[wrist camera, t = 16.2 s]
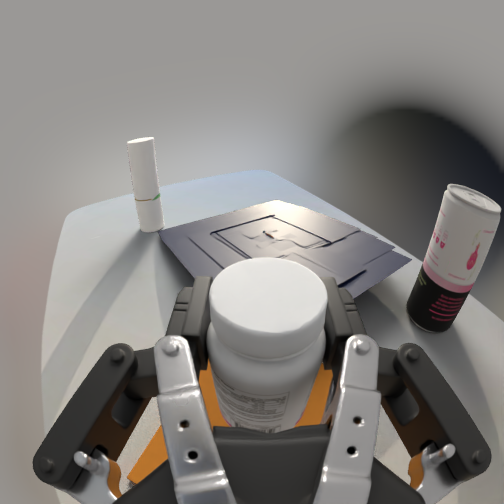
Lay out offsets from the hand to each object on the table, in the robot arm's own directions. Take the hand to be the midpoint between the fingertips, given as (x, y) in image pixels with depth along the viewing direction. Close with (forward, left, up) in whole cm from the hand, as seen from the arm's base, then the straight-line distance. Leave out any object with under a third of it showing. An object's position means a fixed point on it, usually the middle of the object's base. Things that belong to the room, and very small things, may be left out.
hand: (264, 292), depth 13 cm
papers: (+21, +5, -13) cm, 25 cm away
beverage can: (+16, -16, -13) cm, 26 cm away
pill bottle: (-2, -1, -6) cm, 7 cm away
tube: (+23, +27, -13) cm, 38 cm away
